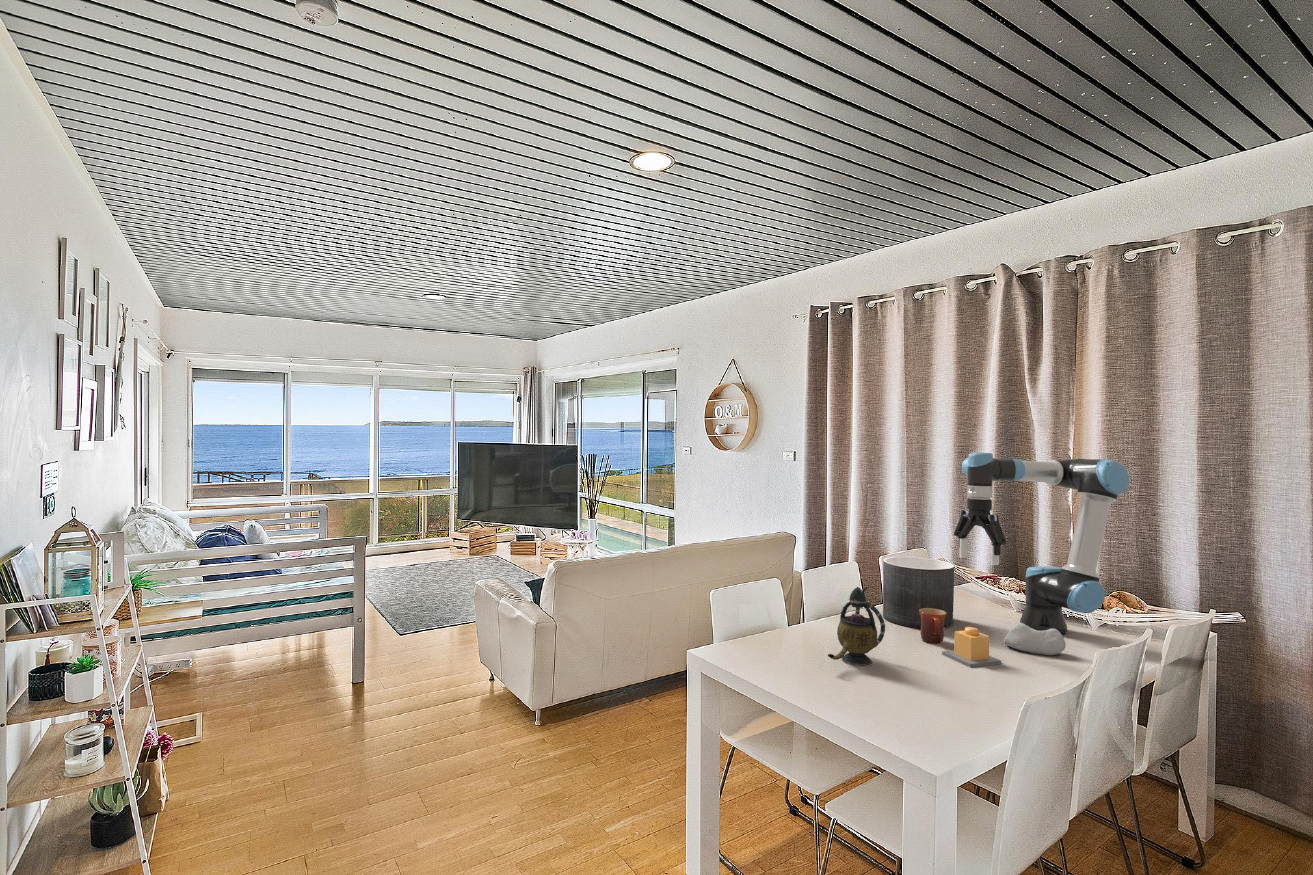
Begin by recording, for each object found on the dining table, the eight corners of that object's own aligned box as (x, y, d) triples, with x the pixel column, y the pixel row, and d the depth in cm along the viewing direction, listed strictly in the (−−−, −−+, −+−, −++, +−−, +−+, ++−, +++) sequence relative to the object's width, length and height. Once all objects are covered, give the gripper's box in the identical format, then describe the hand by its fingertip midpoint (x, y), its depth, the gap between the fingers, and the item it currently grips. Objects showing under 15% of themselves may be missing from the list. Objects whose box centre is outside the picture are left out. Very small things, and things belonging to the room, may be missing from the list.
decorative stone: (1002, 642, 213) (1006, 614, 218) (1003, 652, 220) (1008, 625, 225) (1063, 657, 203) (1067, 627, 208) (1063, 667, 210) (1066, 638, 215)
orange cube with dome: (971, 651, 209) (972, 624, 209) (988, 658, 202) (989, 631, 202) (954, 653, 207) (954, 626, 207) (970, 660, 200) (971, 632, 200)
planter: (965, 630, 236) (966, 570, 236) (895, 628, 236) (896, 568, 236) (936, 611, 261) (937, 557, 261) (873, 610, 261) (874, 556, 262)
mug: (916, 636, 227) (916, 607, 227) (942, 638, 226) (943, 609, 226) (923, 647, 216) (923, 616, 216) (951, 649, 214) (951, 618, 214)
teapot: (888, 659, 203) (889, 585, 203) (849, 679, 185) (850, 598, 185) (852, 649, 211) (853, 579, 211) (812, 668, 193) (813, 591, 194)
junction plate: (971, 651, 212) (972, 633, 212) (1001, 663, 200) (1001, 644, 200) (941, 654, 208) (942, 635, 208) (970, 667, 197) (970, 647, 197)
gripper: (943, 495, 228) (942, 554, 228) (1000, 502, 205) (999, 568, 204) (960, 494, 231) (960, 554, 231) (1019, 501, 207) (1018, 567, 207)
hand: (978, 561), depth 218 cm, fingers open, 13 cm apart
